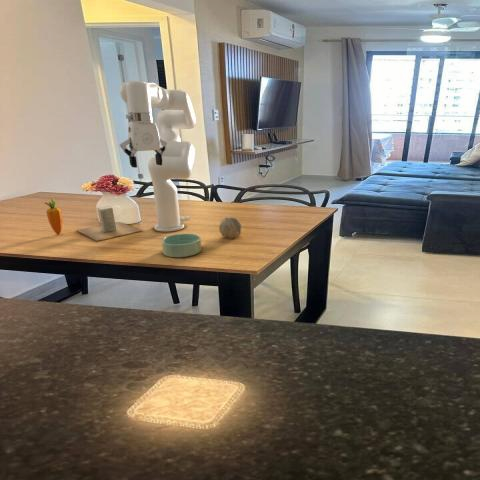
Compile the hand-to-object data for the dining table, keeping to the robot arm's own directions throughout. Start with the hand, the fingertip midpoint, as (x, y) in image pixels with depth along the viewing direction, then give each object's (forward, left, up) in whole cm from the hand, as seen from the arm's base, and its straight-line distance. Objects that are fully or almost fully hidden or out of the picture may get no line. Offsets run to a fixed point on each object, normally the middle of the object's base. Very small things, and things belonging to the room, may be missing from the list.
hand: (147, 166), depth 143 cm
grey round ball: (-24, +16, -31) cm, 42 cm away
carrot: (+22, -38, -31) cm, 53 cm away
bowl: (-1, +17, -30) cm, 35 cm away
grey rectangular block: (+6, -28, -30) cm, 42 cm away
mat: (+6, -28, -30) cm, 42 cm away
